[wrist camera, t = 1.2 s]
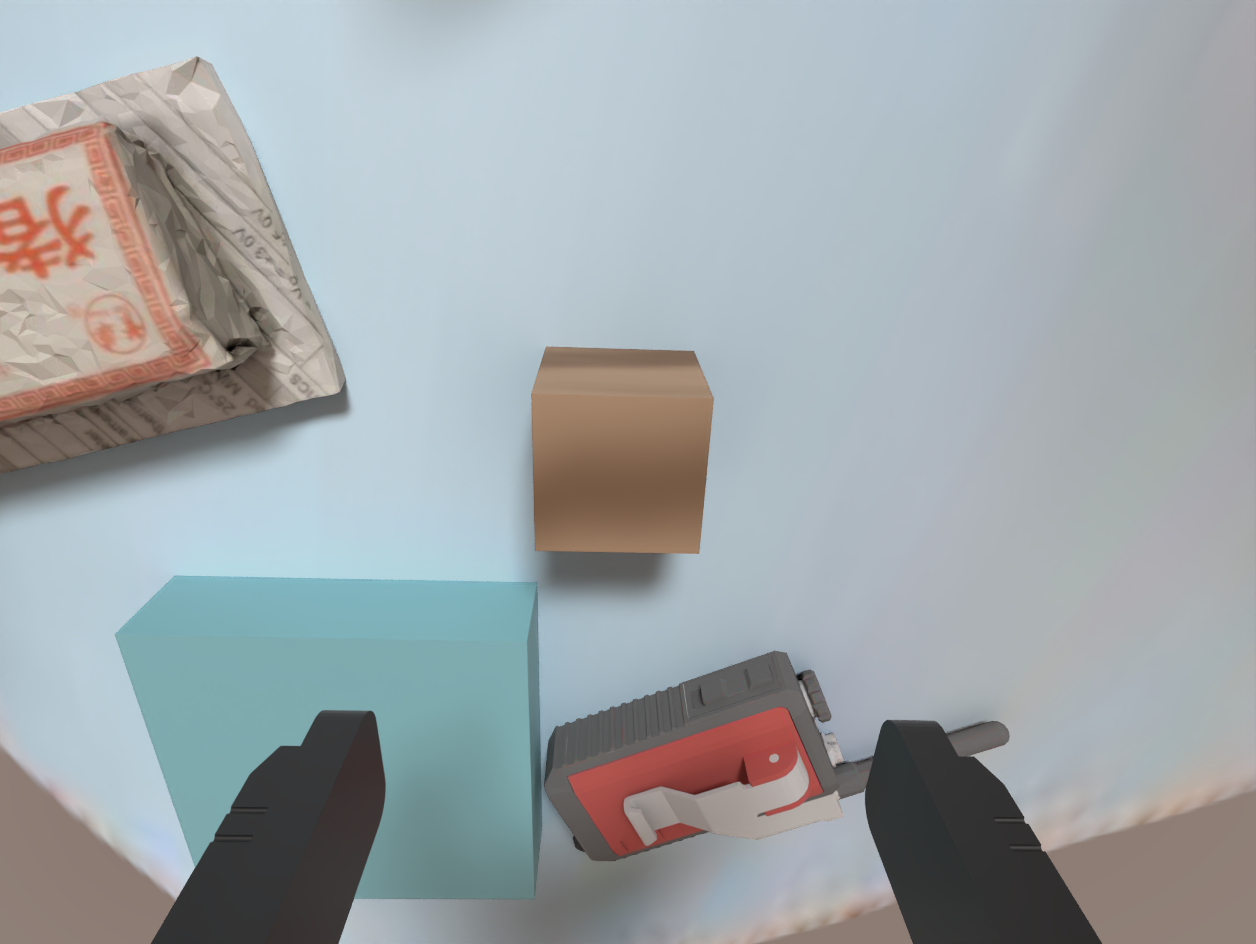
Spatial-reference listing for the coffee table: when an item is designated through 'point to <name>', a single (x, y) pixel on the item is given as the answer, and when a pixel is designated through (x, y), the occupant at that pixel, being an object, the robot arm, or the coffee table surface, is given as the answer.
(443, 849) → the teal base block
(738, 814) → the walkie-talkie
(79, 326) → the packaged product
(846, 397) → the coffee table surface
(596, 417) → the walnut block
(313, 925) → the robot arm
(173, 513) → the coffee table surface
